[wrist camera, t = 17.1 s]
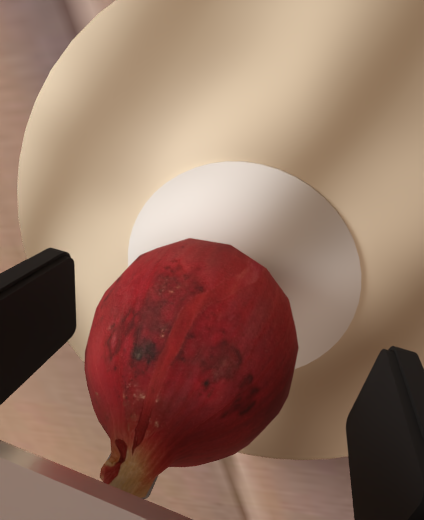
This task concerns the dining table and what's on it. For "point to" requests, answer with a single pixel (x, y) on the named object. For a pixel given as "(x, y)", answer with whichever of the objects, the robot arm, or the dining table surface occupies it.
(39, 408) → the dining table surface
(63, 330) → the robot arm
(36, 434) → the dining table surface
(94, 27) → the turntable
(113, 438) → the onion
